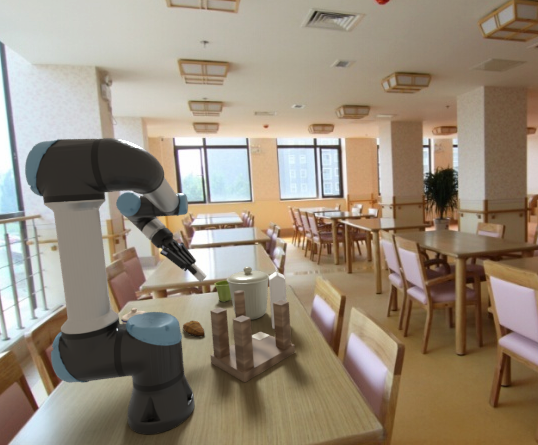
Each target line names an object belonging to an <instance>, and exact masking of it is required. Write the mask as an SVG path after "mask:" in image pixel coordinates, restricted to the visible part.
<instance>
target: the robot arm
mask: <svg viewBox="0 0 538 445" xmlns="http://www.w3.org/2000/svg"><path fill="white" fill-rule="evenodd" d="M24 165H25V166H24V168H25V169H24V171H25V173H24V174H25V179H26V182H27V185H28V186H30V187H29V188H30V190H31V191H32V193H34V194H35V195H36V196H39V197H42V199H43V205H44V206H45V207H47V208H49V209H50V210H51V211H52V212H53V216H54V224H55V231H56V239H57V247H58V255H59V261H60V262H59V263H60V269H61V276H62V285H63V293H64V298H65V299H64V301H65V307H66V314H67V315H66V316H67V319H66V321H64V323H63V324H62V325H61V327H60V332H58V334H57V335H56V336H55V338H54V340H53V342H52V344H51V347H52V350H51V352H50V358H51V360H50V361H51V366H52V369H53V371H54V373H55V375H56V376H57V378H59V379H60V380H61V381H63V382H65V383H82V384H83V383H89V382H91V381H92V382H93V381H101V380H106V379H107V380H108V379H117V378H123V377H131V380H132V389H131V395H130V399H129V404H128V407H127V423H128V425H129V428H130V429H131V430H132V431H133V432H135V433H138V434H143V435H155V434H160V433H164V432H167V431H169V430H172V429H173V428H176V427H177V426H179V425H180V424H182V423H183V422H185V421H186V420H187V419H188V418H189V417H190V415H191V414H192V413H193V411H194V408H195V395H194V391H193V389H192V387H191V386H190V383H189V380H188V379H187V377H186V374H185V364H184V355H183V354H184V353H183V343H182V342H183V341H182V338H183V334H182V333H181V332H182V331H181V326H180V325H181V324H180V321H179V319H178V318H177V317H176V316H174V315H173V314H170V313H167V312H162V311H161V312H160V311H159V312H158V311H148V312H147V311H145V312H146V313H143V314H137V315H135V316H132V317H131V318H129V319H128V321H127V323H126V324H122V323H121V322H120V316H119V313H117V312H116V311H114V310H112V308H111V301H110V300H111V299H110V291H109V282H108V274H107V266H106V265H107V264H106V257H105V249H104V240H103V233H102V224H101V217H100V215H101V214H100V207H101V206H102V205H103V204H104V203H105V202H106V193H113V192H124V193H121V194H120V195H119V196H118V197H117V199H116V203H115V205H116V208H117V210H118V211H119V213H120V214H121V215H122V216H123V217H125V218H126V219H127V220H128V221H129V222H130V223H132V224H133V225H134V226H135V227H136V228H137V229H138V231H140V232H141V234H143V235H144V236H145V237H146V238H147V240H149V241H150V242H151V243H152V244H153V245H154V247H156V248H157V249H161V250H160V253H159V254H160V255H162V256H163V257H166V258H167V259H168V260H169V261H170V262H172V263H173V264H174V265H176V266H177V267H178V268H180V269H181V270H183V271H184V272H186V271H188V272H190V274H192V276H193V277H194V278H195V279H196V280H198V282H199V283H202V282H203V281H204V280H206V278H207V275H206V274H205V272H203V271H202V270H201V268H199V267H198V265H197V264H195V263H196V262H197V260H196V258H195V257H194V255H192V254H191V252H190V251H189V249H188V248H187V246H186V245H185V243H184V242H183V241H181V242H180V243H179V242H178V241H177V240H176V239H174V233H173V232H172V231H171V230H170V229H169V228H168V227H166V225H165V224H164V223H163V222H162V221H161V220H160V219H159V218H158V217H172V216H174V217H175V216H176V217H178V216H183V215H187V214H188V213H189V202H188V196H187V194H186V193H180V192H177V193H176V192H175V191H174V189H173V187H172V186H171V184H170V183H169V181H168V180H167V179H166V177H165V170H164V167H163V165H162V164H161V162H160V161H159V159H157V157H156V156H154V155H153V154H152V153H150V152H149V151H148V150H146V149H144V148H143V147H141V146H138V144H135V143H133V142H129V141H127V140H123V139H120V138H113V137H103V138H73V139H71V138H70V139H69V138H67V139H66V138H63V139H62V138H60V139H59V138H57V139H55V140H46V141H45V140H44V141H40V142H37V143H36V144H35V145H34V146H33V147H32V148H31V150H29V152H28V154H27V157H26V160H25V164H24Z"/></svg>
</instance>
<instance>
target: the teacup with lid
mask: <svg viewBox="0 0 538 445" xmlns="http://www.w3.org/2000/svg"><path fill="white" fill-rule="evenodd" d="M146 312H147V311H145V310H138V308H137V307H132V308H131V310H130V311H129V312H128V313H126V314H123V315H122V316H121V318H120V319H121V322H122V323H121V324H126V323H127V321H128V319H129V318H131V317H132V316H135V315H137V314H143V313H146Z"/></svg>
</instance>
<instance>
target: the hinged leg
mask: <svg viewBox="0 0 538 445" xmlns="http://www.w3.org/2000/svg"><path fill="white" fill-rule="evenodd" d="M234 302H235V312H234V315H235V318H237V317H240V316H242V315H243V316H246V310H245V296H244V291H235V292H234Z"/></svg>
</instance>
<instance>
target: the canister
mask: <svg viewBox="0 0 538 445" xmlns="http://www.w3.org/2000/svg"><path fill="white" fill-rule="evenodd" d="M269 276H270V274H268V273H266V272H265V271H260V270H253V268H252V267H251V266H245V267H244V268H243V271H237V272H235V273H233V274H231V275H229V276H228V277H227V278H226V280H227V282H228V283H229V288H230V293H231V303H232V306H233V307H232V308H233V313H235V302H234V292H235V291H244V296H245V310H246V317H249V318H251V321H253V320H256V319H259V318H262V317H263V316H264V315H265V314H266V312H267V309H268V308H267V307H268V296H269V295H268V293H269V292H268V291H269V290H268V289H269Z"/></svg>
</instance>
